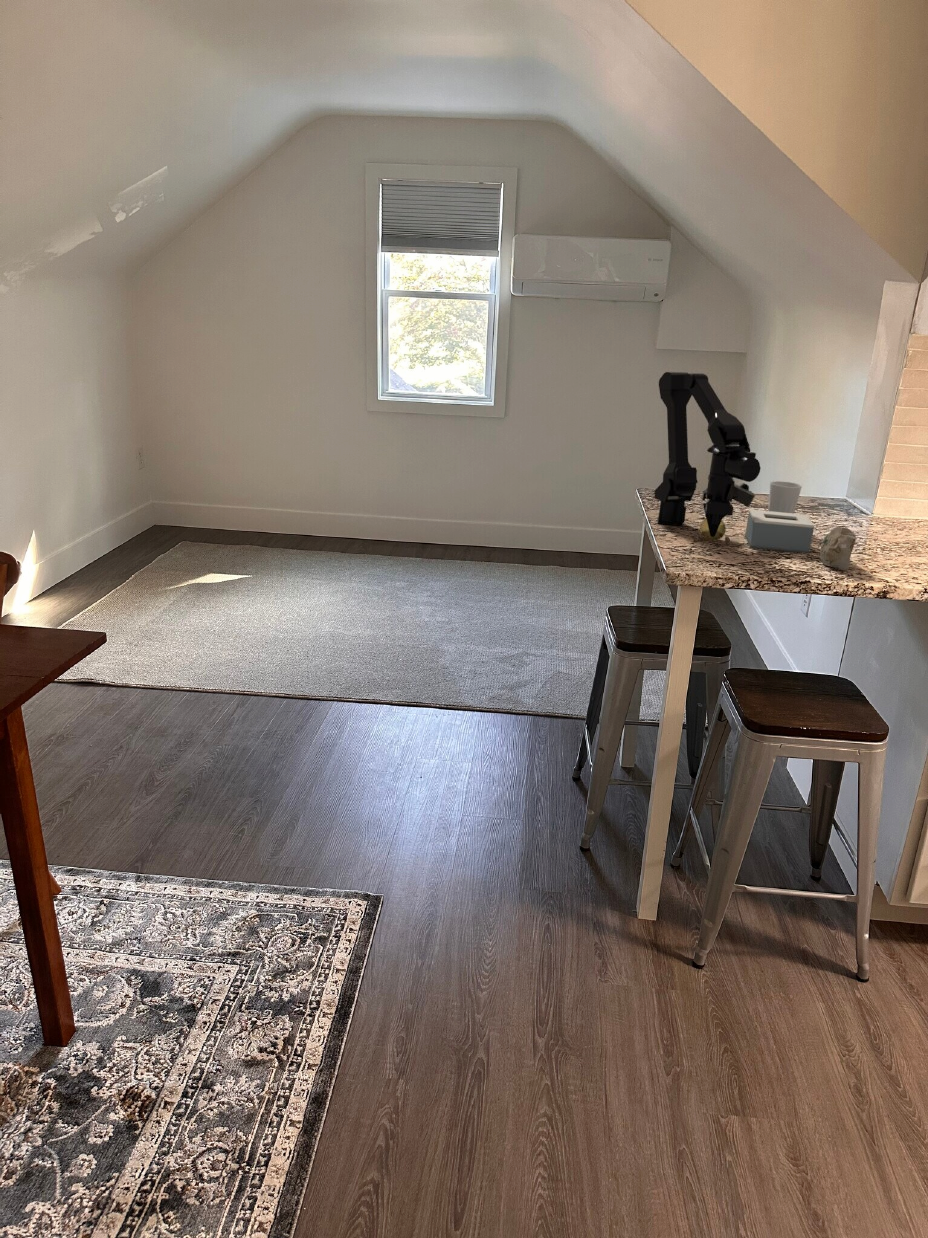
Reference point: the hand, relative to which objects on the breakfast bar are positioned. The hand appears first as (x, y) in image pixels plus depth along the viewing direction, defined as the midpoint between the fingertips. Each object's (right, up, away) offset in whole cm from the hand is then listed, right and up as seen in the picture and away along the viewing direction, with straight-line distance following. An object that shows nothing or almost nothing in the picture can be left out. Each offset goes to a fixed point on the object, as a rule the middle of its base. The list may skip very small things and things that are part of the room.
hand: (712, 535), depth 228 cm
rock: (+24, -9, -16) cm, 30 cm away
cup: (+23, +3, +17) cm, 28 cm away
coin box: (+16, -2, 0) cm, 16 cm away
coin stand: (0, -1, 0) cm, 1 cm away
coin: (0, -1, 0) cm, 1 cm away
